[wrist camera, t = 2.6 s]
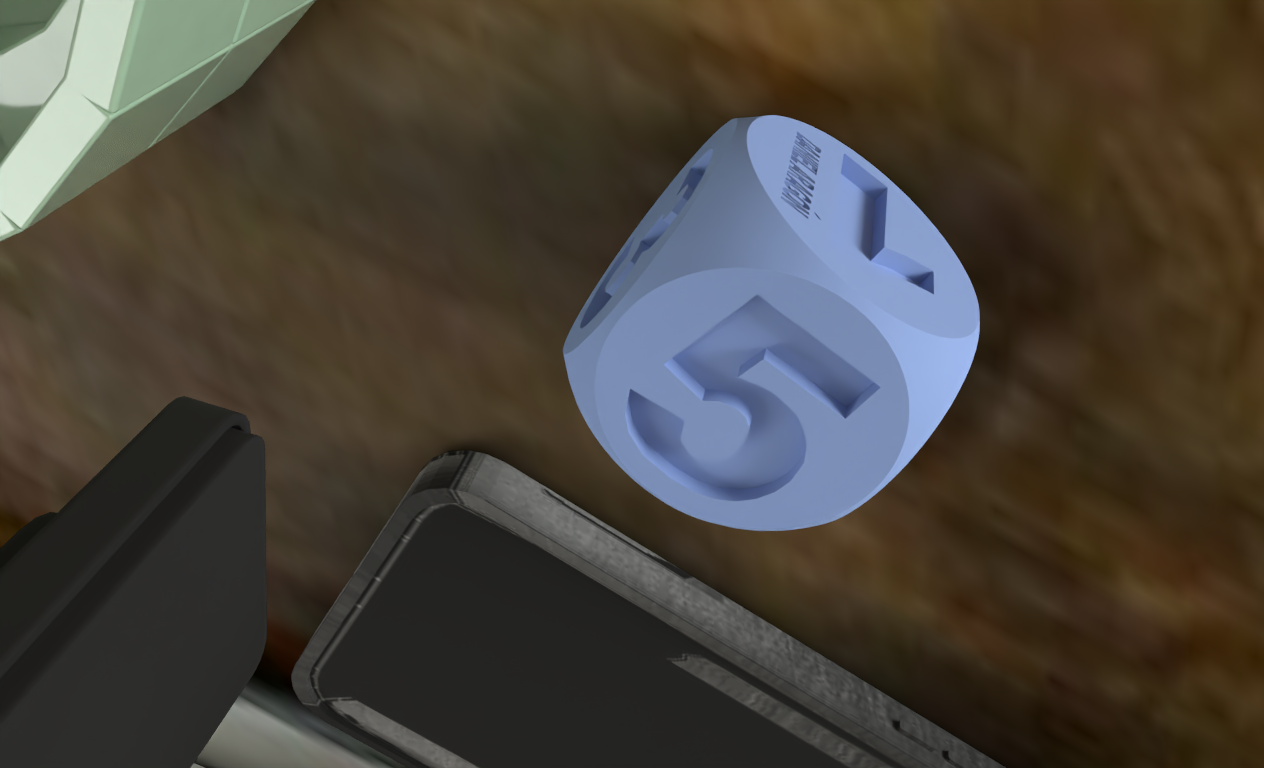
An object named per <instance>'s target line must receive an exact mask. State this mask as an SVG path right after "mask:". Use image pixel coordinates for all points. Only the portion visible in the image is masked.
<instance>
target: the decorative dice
mask: <svg viewBox="0 0 1264 768" xmlns="http://www.w3.org/2000/svg"><path fill="white" fill-rule="evenodd" d="M979 330H980V318H979V305H978V301H977V297H976V294H975V291H974V288H973V286H972V283H971V281H970V279H969V277H968V275H967V273H966V271H965V269H964V268H963V266H962V264H961V262H960V261H959V259H958V258H957V256H956V255H955V253H954V251H953V250H952V248H951V247H950V246H949V244H948V243H947V242H946V240H945V239H944V237H943V236H942V235H941V234H940V232H939V231H938V230H937V228H936V227H935V226H934V225H933V224H932V223H931V221H930V220H929V219H928V218H927V217H926V216H925V214H924V213H923V212H922V211H921V210H920V209H919V208H918V207H917V206H916V205H915V204H914V203H913V202H912V200H911V199H910V198H909V197H908V196H907V195H906V194H905V193H904V192H902V191H901V190H900V189H899V188H898V187H897V186H896V185H895V184H894V183H893V182H892V181H891V180H890V179H888V178H887V177H886V176H885V175H884V174H883V173H882V172H880V171H879V170H878V169H877V168H876V167H874V166H873V165H872V164H871V163H869V162H868V161H867V160H865V159H864V158H863V157H861V156H860V155H859V154H857V153H856V152H855V151H853V150H852V149H850V148H849V147H847V146H846V145H844V144H843V143H841V142H840V141H838V140H836V139H835V138H833V137H831V136H830V135H828V134H826V133H824V132H823V131H821V130H819V129H817V128H815V127H813V126H810V125H808V124H806V123H803V122H801V121H798V120H795V119H792V118H788V117H783V116H777V115H767V116H756V117H746V118H735V119H732V120H730V121H728V122H727V123H726V124H724V125H723V126H722V127H721V128H720V129H719V130H718V131H717V132H716V133H714V134H713V135H712V136H711V137H710V139H709V140H708V141H707V142H706V143H705V144H704V145H703V146H702V147H701V148H700V149H699V150H698V151H697V152H696V154H695V155H694V156H693V157H692V158H691V159H690V160H689V162H688V163H687V164H686V165H685V166H684V167H683V169H682V170H681V171H680V172H679V173H678V175H677V176H676V177H675V178H674V180H673V181H672V182H671V183H670V184H669V186H668V187H667V188H666V189H665V191H664V192H663V193H662V195H661V196H660V197H659V198H658V200H657V201H656V202H655V204H654V205H653V206H652V207H651V209H650V210H649V211H648V213H647V214H646V215H645V217H644V218H643V219H642V221H641V222H640V223H639V225H638V226H637V227H636V229H635V230H634V232H633V233H632V234H631V236H630V237H629V239H628V240H627V241H626V243H625V244H624V246H623V247H622V248H621V250H620V251H619V253H618V254H617V256H616V257H615V258H614V260H613V261H612V263H611V264H610V266H609V267H608V269H607V270H606V272H605V273H604V275H603V276H602V278H601V279H600V281H599V282H598V284H597V285H596V287H595V289H594V290H593V292H592V293H591V295H590V297H589V298H588V300H587V301H586V303H585V305H584V306H583V308H582V310H581V311H580V313H579V315H578V317H577V319H576V320H575V322H574V324H573V326H572V328H571V330H570V332H569V334H568V336H567V339H566V341H565V344H564V347H563V354H564V359H565V363H566V368H567V373H568V378H569V382H570V385H571V388H572V391H573V394H574V397H575V400H576V402H577V405H578V407H579V409H580V411H581V414H582V415H583V417H584V419H585V421H586V423H587V425H588V426H589V428H590V429H591V431H592V433H593V434H594V436H595V437H596V439H597V440H598V441H599V443H600V444H601V445H602V447H603V448H604V449H605V451H606V452H607V453H608V454H609V455H610V456H611V458H612V459H613V460H614V461H615V462H616V463H617V464H618V465H619V466H620V467H621V468H622V469H623V470H624V471H625V472H626V473H627V474H628V475H629V476H630V477H631V478H632V479H633V480H634V481H636V482H637V483H638V484H639V485H640V486H642V487H643V488H644V489H645V490H647V491H648V492H649V493H651V494H652V495H654V496H655V497H657V498H658V499H660V500H661V501H663V502H664V503H666V504H668V505H669V506H671V507H673V508H675V509H677V510H679V511H681V512H683V513H685V514H687V515H690V516H692V517H695V518H697V519H701V520H704V521H707V522H711V523H715V524H719V525H723V526H727V527H732V528H737V529H745V530H754V531H784V530H794V529H801V528H807V527H812V526H817V525H821V524H825V523H829V522H832V521H834V520H837V519H839V518H841V517H843V516H845V515H846V514H848V513H850V512H852V511H853V510H855V509H856V508H858V507H859V506H861V505H862V504H864V503H865V502H866V501H868V500H869V499H870V498H871V497H873V496H874V495H875V494H876V493H878V492H879V491H880V490H881V489H882V488H883V487H884V486H886V485H887V484H888V483H889V482H890V481H891V480H892V479H893V478H894V477H895V476H896V475H897V474H898V473H899V472H900V471H901V470H902V469H903V468H904V467H905V466H906V465H907V463H908V462H909V461H910V460H911V459H912V458H913V457H914V456H915V454H916V453H917V452H918V451H919V450H920V448H921V447H922V446H923V445H924V443H925V442H926V441H927V439H928V438H929V437H930V436H931V434H932V433H933V431H934V430H935V429H936V427H937V426H938V424H939V423H940V422H941V420H942V419H943V417H944V415H945V414H946V412H947V411H948V409H949V408H950V406H951V404H952V403H953V401H954V399H955V397H956V396H957V394H958V392H959V390H960V388H961V386H962V384H963V382H964V380H965V378H966V376H967V373H968V371H969V369H970V366H971V363H972V361H973V357H974V354H975V351H976V347H977V343H978V338H979Z"/></svg>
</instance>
